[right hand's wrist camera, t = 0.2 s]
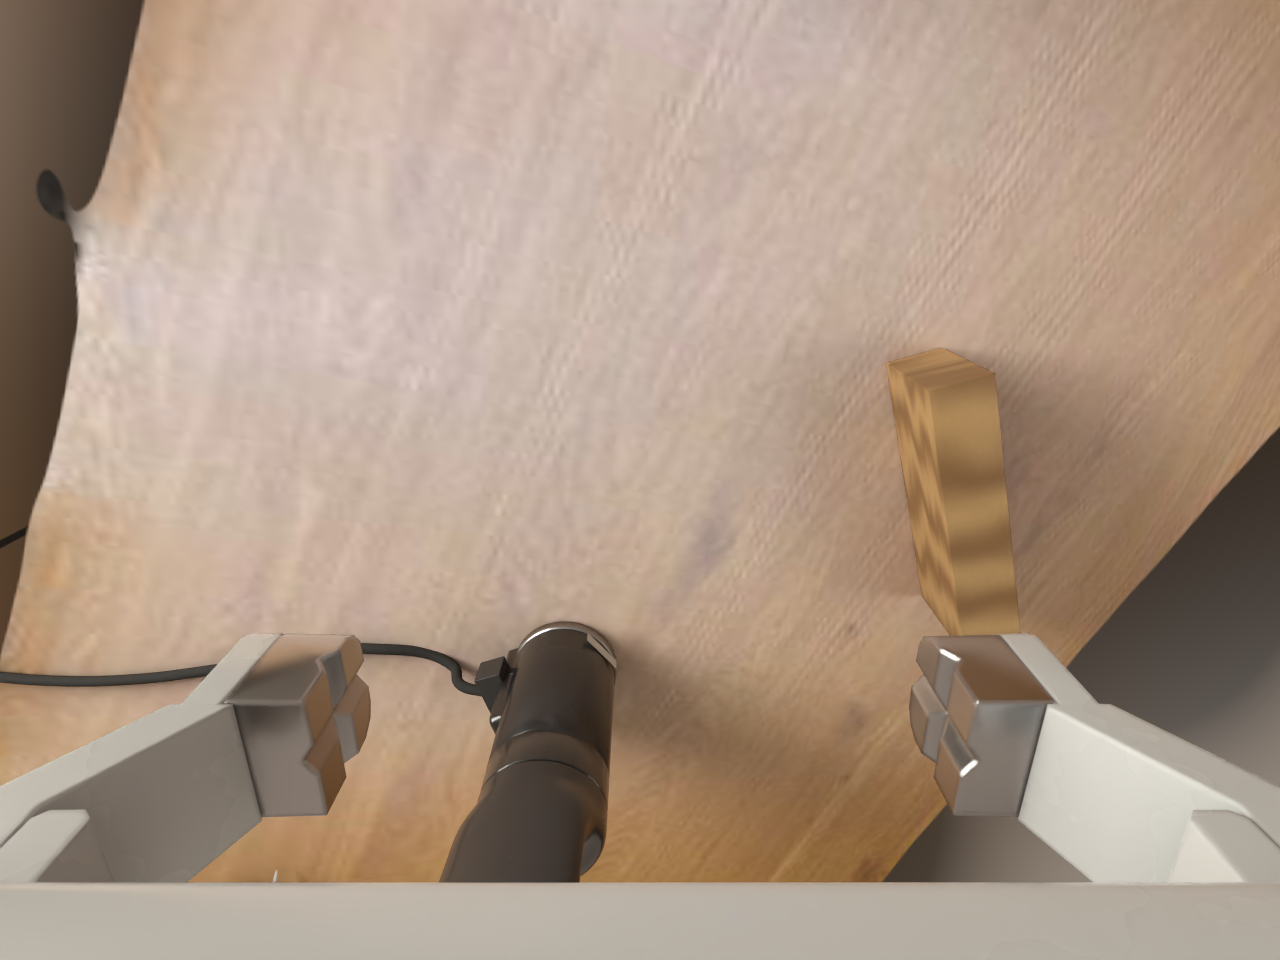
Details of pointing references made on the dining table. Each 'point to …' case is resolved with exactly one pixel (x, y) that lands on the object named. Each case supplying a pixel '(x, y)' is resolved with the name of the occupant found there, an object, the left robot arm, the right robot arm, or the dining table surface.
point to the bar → (956, 490)
